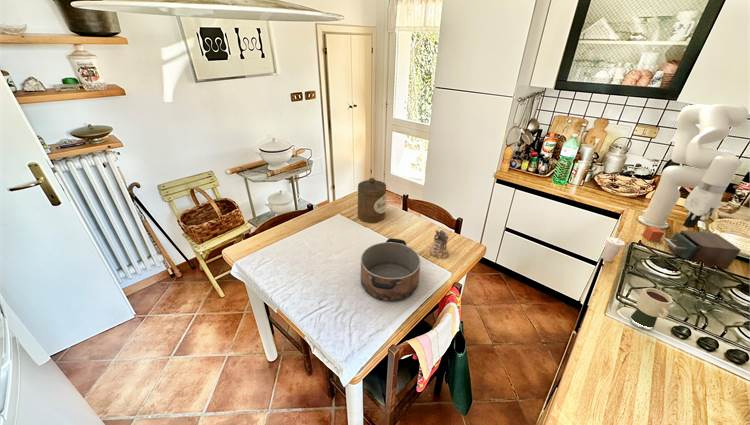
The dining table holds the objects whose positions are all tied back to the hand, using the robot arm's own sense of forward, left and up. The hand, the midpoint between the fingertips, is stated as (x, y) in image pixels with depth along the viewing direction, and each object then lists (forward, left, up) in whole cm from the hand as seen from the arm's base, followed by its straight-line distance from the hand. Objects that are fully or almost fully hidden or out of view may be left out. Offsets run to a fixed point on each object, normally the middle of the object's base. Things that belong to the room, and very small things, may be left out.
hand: (688, 226), depth 130 cm
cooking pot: (+41, -123, -15) cm, 130 cm away
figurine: (+19, -103, -15) cm, 106 cm away
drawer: (0, +5, -14) cm, 15 cm away
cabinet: (0, +11, -15) cm, 18 cm away
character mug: (+46, -37, -15) cm, 61 cm away
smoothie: (+9, -30, -15) cm, 35 cm away
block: (-14, 0, -15) cm, 21 cm away
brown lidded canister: (-8, -139, -15) cm, 140 cm away
